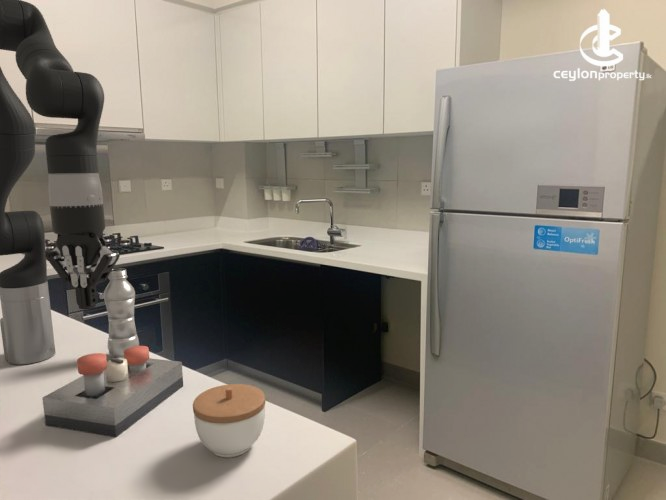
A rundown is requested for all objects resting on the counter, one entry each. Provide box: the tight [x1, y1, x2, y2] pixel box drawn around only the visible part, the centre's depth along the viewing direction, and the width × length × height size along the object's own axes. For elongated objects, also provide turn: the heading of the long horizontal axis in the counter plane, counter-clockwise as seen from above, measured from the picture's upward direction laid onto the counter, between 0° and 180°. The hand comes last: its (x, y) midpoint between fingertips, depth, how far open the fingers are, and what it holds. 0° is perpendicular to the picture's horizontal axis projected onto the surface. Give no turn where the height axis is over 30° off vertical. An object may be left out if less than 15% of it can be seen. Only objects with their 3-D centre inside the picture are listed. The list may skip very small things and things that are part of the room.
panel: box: [42, 355, 184, 438], centre depth 88 cm, size 14×19×5 cm
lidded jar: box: [192, 383, 266, 458], centre depth 74 cm, size 11×11×9 cm
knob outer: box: [76, 352, 108, 396], centre depth 82 cm, size 4×4×6 cm
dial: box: [106, 357, 128, 382], centre depth 87 cm, size 4×4×4 cm
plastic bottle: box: [103, 268, 140, 358], centre depth 110 cm, size 6×7×20 cm
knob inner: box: [124, 345, 150, 372], centre depth 93 cm, size 4×4×6 cm
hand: (87, 308), depth 80 cm, fingers closed
